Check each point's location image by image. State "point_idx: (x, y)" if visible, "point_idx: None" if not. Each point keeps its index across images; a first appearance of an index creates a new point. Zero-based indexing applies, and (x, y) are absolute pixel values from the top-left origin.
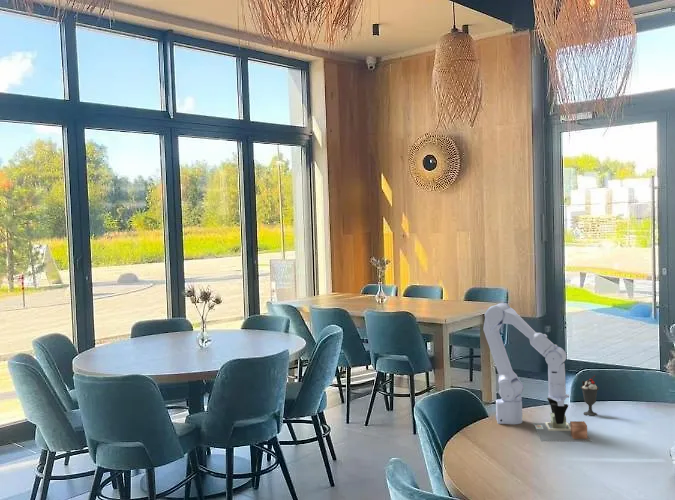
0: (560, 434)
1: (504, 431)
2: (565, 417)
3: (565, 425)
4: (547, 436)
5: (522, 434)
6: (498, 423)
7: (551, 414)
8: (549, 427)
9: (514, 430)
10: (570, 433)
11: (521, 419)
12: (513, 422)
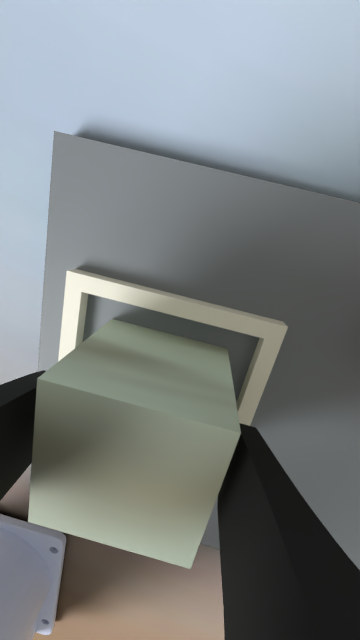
0: (344, 450)
1: (136, 632)
2: (237, 429)
3: (228, 372)
4: (348, 541)
5: (207, 592)
6: (33, 635)
7: (96, 539)
8: None
9: (128, 593)
10: (353, 367)
11: (7, 572)
12: (42, 602)
